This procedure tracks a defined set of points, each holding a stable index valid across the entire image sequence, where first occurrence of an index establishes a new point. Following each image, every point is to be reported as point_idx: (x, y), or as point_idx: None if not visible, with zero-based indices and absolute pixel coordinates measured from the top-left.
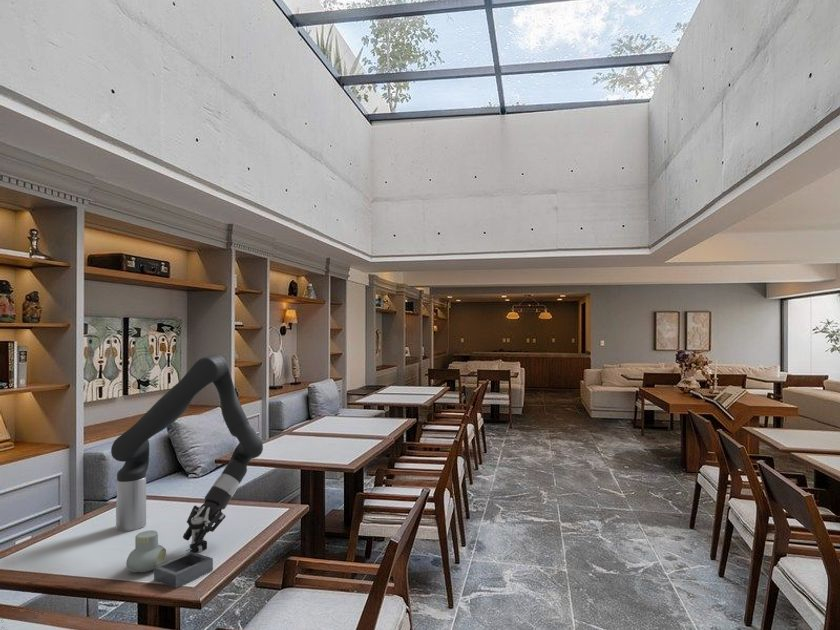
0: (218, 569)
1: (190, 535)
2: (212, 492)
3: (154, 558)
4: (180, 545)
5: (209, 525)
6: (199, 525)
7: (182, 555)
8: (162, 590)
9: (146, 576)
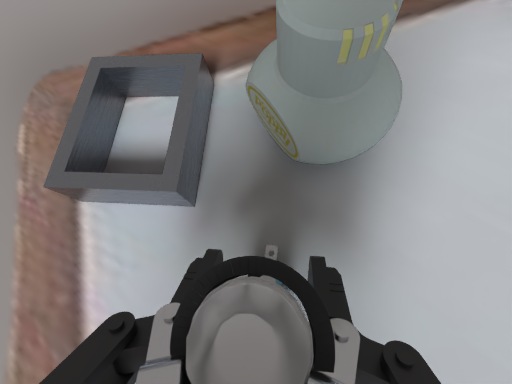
0: (69, 216)
1: None
2: None
3: (249, 74)
4: (412, 325)
5: (103, 333)
6: (187, 296)
7: (183, 151)
8: None
9: None
